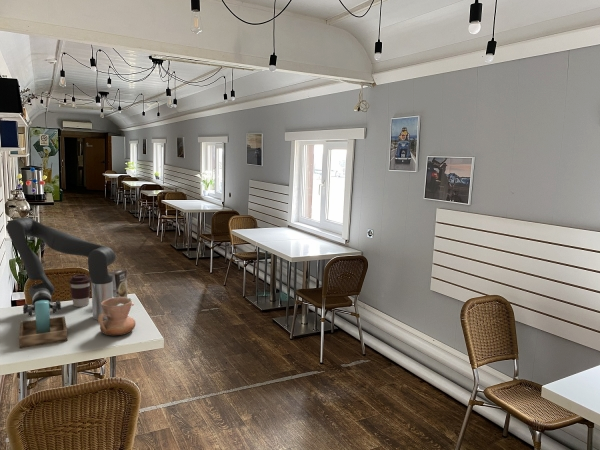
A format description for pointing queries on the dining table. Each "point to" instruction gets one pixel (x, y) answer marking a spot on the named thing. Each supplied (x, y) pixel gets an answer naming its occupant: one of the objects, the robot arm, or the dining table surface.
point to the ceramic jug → (116, 316)
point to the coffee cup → (80, 289)
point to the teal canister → (42, 316)
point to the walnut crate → (32, 339)
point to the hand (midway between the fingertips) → (42, 312)
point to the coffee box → (119, 283)
